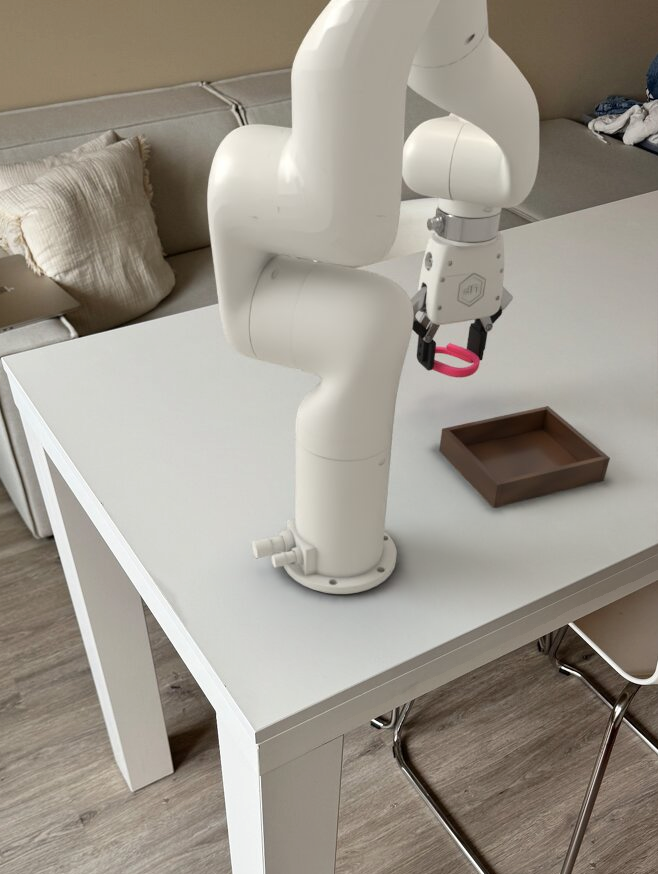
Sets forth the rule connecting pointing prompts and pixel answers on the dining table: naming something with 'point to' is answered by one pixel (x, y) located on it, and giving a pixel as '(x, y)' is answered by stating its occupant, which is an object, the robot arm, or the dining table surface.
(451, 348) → the fitness band
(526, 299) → the dining table surface
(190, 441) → the dining table surface
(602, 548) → the dining table surface
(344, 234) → the robot arm
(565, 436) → the walnut tray
